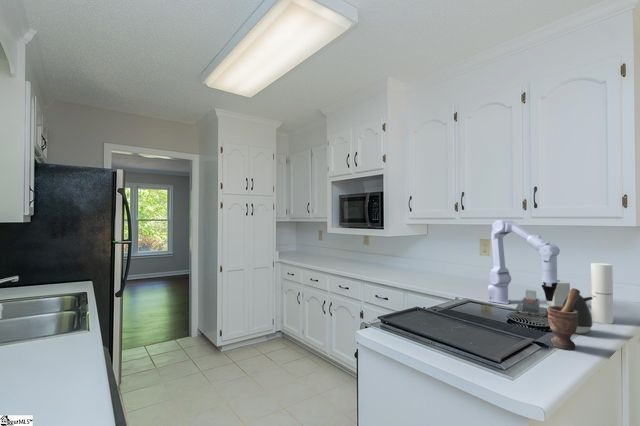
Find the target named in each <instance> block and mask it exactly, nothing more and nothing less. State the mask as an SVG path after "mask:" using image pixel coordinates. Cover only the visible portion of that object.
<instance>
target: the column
mask: <svg viewBox="0 0 640 426" xmlns="http://www.w3.org/2000/svg"><path fill="white" fill-rule="evenodd" d="M525 297H526V300H531V301H537V300H536V299H537V290H534V289H533V290H530V289H526V290H525Z"/></svg>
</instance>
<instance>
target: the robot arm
mask: <svg viewBox="0 0 640 426" xmlns="http://www.w3.org/2000/svg"><path fill="white" fill-rule="evenodd" d="M491 225H492V230H491V233H490V238H491V250H492V262H493V268H492V269H491V270H490V276H489V282H490V283H491V284H488V286H487V302H489V303H498V304H504V305H509V303H510V302H511V300H509V285H510V283H511V282H512V276H511V274H510V270H509V269H508V268H507V267H506V260H505V251H504V250H505V247H504V237H506V236H507V235H508V234H510V233H514V234H516V235H518V236H519V237H521V238H523V239H524V240H526V243H527V244H528V245H529V246H530V247H532V248H533V249H535V250H536V251H538V253H539V255H540V256H541V267H542V268H541V282H542V284H541V287H542V290H543V293H544V296H545V300H546V302H547V301H552V300H553V296H554V291H555V289H556V288H557V287H556V286H557V284H558V283H556V282H560V281H561V280H560V279H558V256H559V254H560V248H559V246H558V245H557V244H555V243H550V242H549V241H548V240H545V239H544V238H542V237H541V235H539V234H532V233H530V232H528V231H527V230H526V229H524V228H523V227H522V226H520V225H519V224H518V223H517V222H515V221H513V220H511V219H508V220H505V219H503V220H501V219H499V220H495V222H493V223H492V224H491Z"/></svg>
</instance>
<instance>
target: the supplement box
mask: <svg viewBox="0 0 640 426" xmlns="http://www.w3.org/2000/svg"><path fill="white" fill-rule="evenodd" d="M556 283H558V284H557V286H556V287H557V288H556V289H555V291H554V296H553V300H552V301H547V300H546V302H547V306H561V307H562V306H563V303H564V301H565V299H566V298H567V296H568V295H569V292H570V290H571V289H570V288H571V286H570V282H568V281H564V280H560V282H556Z"/></svg>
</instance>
